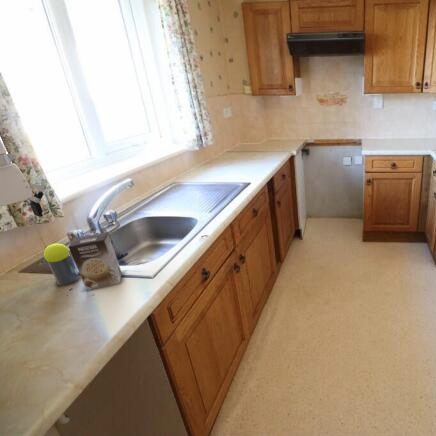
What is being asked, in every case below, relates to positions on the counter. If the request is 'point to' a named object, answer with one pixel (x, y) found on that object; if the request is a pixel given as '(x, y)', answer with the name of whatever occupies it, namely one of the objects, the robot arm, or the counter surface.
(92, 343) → the counter surface
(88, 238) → the coffee box
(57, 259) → the ball
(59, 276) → the tumbler
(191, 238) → the counter surface
